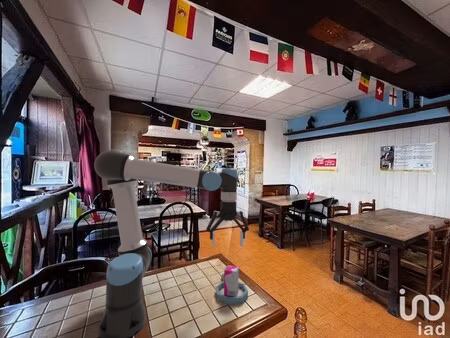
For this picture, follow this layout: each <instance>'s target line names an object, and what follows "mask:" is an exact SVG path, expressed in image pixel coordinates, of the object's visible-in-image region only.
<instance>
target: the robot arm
mask: <svg viewBox="0 0 450 338" xmlns="http://www.w3.org/2000/svg"><path fill="white" fill-rule="evenodd" d="M93 165H94V166H93V167H94V171H95V173H96V174H97V175H98V176H99V177H100V178H101V179H104V180H105V181H106V185H107V187H108V188H110V189H111V190H112V196H113V197H112V198H113V201H114V202H113V203H114V208H115V209H114V210H115V216H116V221H117V228H118V232H119V238H120V245H119V247H118V248H117V253H118V256H117V257H114V258H113V259H112V260H111V261H110V262H109V263H108V264H107V269H106V274H105V278H106V281H105V282H106V284H105V287H106V288H105V308H104V310H103V311H104V312H103V314H102V316H101V319H100V322H99V325H98V336H99V338H131V337H133V336H135V335H134V333H136V332H137V331H138V332H140V331H141V330H142V329H143V327H144V325H145V324H146V320H147V311H146V308H145V305H144V302H143V299H142V297H143V296H142V294H143V292H142V291H143V288H142V287H143V278H144V277H145V275H146V273H147V271H148V268H149V267H150V265H151V263H152V257H153V255H152V250H151V249H150V247H149V245H148V241H147V239H145V238H143V232H142V226H141V225H142V224H141V220H140V213H139V209H138V207H139V206H138V201H137V196H136V190H135V189H136V188H135V185H136V184H137V182H138V180H139V181H147V182H155V183H160V184H166V185H167V184H168V185H174V186H180V187H181V186H182V187H189V188H194V189H195V188H196V189H201V190H207V191H210V192H212V191H216V190H218V189H221V190H220V200H221V201H220V210H219V211H217V210H214V211H213V214H212V216H211V219H210V220H209V223H208V225H207V226H206V229H205V230H206V232H208V233H209V239H210V240H211V247H212V248H215V236H216V235H215V234H216V233H215V231H216V230H217V229H218V227H219V226H220V225H221V223H223V221H225V222H228V221H229V222H232V221H233V222H235V224H236V225H237V226H238V227H239V229H240V231H239V246H240V247H243V246H244V240H245V239H246V232H248V231H250V227H249V226H248V223H247V222H246V219H245V217H244V213H243V211H242V210H239V211H237V193H238V178H239V177H238V170H237V169H236V168H228V167H225V168H224V167H223V168H222V169H221V171H218V172H217V171H214V170H206V169H200V168H194V167H186V166H180V165H175V164H169V163H163V162H157V161H156V162H155V161H150V160H144V159H136V158H135V157H134V156H133V155H130V154H127V153H125V152H124V153H123V152H121V151H116V150H105V151H102V152H101V153H99V154H98V156H96V158H95V160H94V163H93ZM237 215H238V216H239V218H240V220H241V222H242V224H241V223H240V221H238V219H237V218H236V216H237ZM218 216H220V217H219V218H218V220H217V221H216V222H215V220H216V219H217V217H218ZM214 222H215V224H214ZM242 225H243V226H242ZM140 329H141V330H140ZM139 330H140V331H139ZM138 332H137V333H138ZM137 333H136V334H137Z"/></svg>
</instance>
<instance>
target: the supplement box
mask: <svg viewBox="0 0 450 338" xmlns="http://www.w3.org/2000/svg"><path fill="white" fill-rule="evenodd" d="M239 270H240V269H239V266H237V265H230V264H228V265H226V266H225V268H224V271H223V273H224V280H223V281H224V295H225V296H228V297H237V294H238V282H239Z"/></svg>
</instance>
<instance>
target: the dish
mask: <svg viewBox="0 0 450 338" xmlns="http://www.w3.org/2000/svg"><path fill="white" fill-rule="evenodd" d="M215 295H216V300H217V301H219V302H221V303H224V304H226V305H228V306H231V305H238V304H239V305H240V304H243V303H244V301H246V299H247V298H248V297H249V290H248V288H247V287H246V285H245V283H243V282H240V281H238V294H237V297H228V296H225V295H224V280H222V281H221V282H220V283H218V284H217V285H216V286H215Z"/></svg>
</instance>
